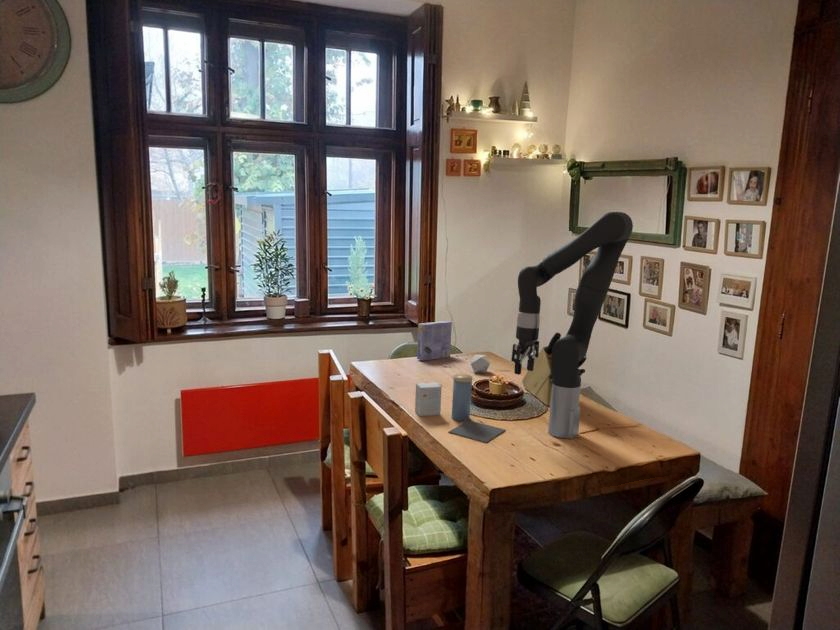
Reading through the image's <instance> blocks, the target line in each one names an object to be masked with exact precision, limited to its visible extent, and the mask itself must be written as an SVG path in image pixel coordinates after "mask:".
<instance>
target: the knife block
mask: <svg viewBox="0 0 840 630" xmlns="http://www.w3.org/2000/svg"><path fill="white" fill-rule="evenodd" d="M561 338H562V334H561V333H560V332H555V334H554V335H553V336H552V337H551V339H550V341H549V343H548V345H547V346H543V347H542V348H541V350H539V354H538V358H536V359H535V360H534V369H533V371H529V370H527V372H526V373H525V375H524V377H523V379H522V385H523V387H524V388H525V390H527V391H528V392H529V393H531V394H532V395H533V396H534V397H536V398H537V399H539V401H541V402H542V403H544V404H545V406H547V407H550V402H551V390H552V375H551V357H552V349H553V345H554V344H555V342H556V341H557V340H559V339H561ZM587 359H588V357H587V354H586V355H585V357H584V358H583V359H582V360H581V361H579V363H578V375H579V376H580V377H581V376H582V375H583V374H585V372H586V369H585V368H580V367H581V366H583V364H584V363H585V362H586V360H587Z"/></svg>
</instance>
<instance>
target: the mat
mask: <svg viewBox="0 0 840 630" xmlns="http://www.w3.org/2000/svg"><path fill="white" fill-rule="evenodd" d="M506 431H507V430H506V429H504V428H501V427H497V426H493V425H489V424H485V423H482V422H481V423H480V422H477V421H474V420H470V419H469V420H468V421H464V423H462V424H460V425H458V426H456V427H454V428H452V429H450V430H449V431H448V433H449V434H452V435H455V436H460V437H463V438H467V439H470V440H474V441H478V442H480V443H481V442H482V443H485V444H487V443H489V442H490V441H491V440H493V439H495V438H497V437H498V436H499V435H501V434H503V433H504V432H506Z"/></svg>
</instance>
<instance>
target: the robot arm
mask: <svg viewBox="0 0 840 630" xmlns="http://www.w3.org/2000/svg"><path fill="white" fill-rule="evenodd" d="M633 225H634V224H633V220H632V218H631V217H630V215H629V214H627V213H625V212H621V211H610V212H607V213H604V214H603V215H602V216H601V217H599V218H598V219H597V220H596V221H595V222H594V223H593V224H591V226H589V227H588V228H587V229H586V230H584V231H583V232H581V234H579V235H578V236H577V237H574V239H572V240H570V241H568V242H566V243H565V244H564V245H562V246H560V247H558V248H556V249H555V250H553V251H551V252H550V253H549V254H547V255H546V256H545V257H544V258H543V259H542V261H541V262H539V263H537V264H536V265H534V266H525V267H523V268H521V270H520V271H519V273H518V276H517V288H518V290H517V291H518V296H519V303H518V313H517V318H516V329H515V331H516V332H515V339H517V340H518V343H513V345H512V349H511V350H512V351H511V358H510V360H511V362H513V363H514V369H513V370H514V374H515V375H522V366H523V364H522V363H523V362H524V360H525V359H526V357H527V365H526V370H527V371H528V370H529V371H533V369H534V361H535V359H536V358H538V354H539V353H540V341H539V333H540V324H541V323H540V322H541V316H540V315H541V314H540V313H541V306H542V305H541V304H542V303H541V297H540V296H539V295H538V291H537V290H538V289H537V288H538V287H541V286H543V285H545V284H546V283H548V282H549V281H551V280H552V279H553V278H554V277H555V276H556V275H559V274H561V273H562V272H564V271H565V270H567V269H570V268H571V267H572V266H573V265H575V264H576V263H578V262H579V261H581V259H582V258H584V257H585V256H586V255H588V254H589V253H590V252H592V251H594V250H596V249H597V250H596V252H595V255H594V256H593V257H592V259H591V261H590V262H589V264H588V265H587V267H586V268H585V270H584V272H583V273H582V276H581V278H580V280H579V283H578V286H577V288H576V292H575V296H574V301H573V317H572V321H571V323H570V326H569V328H568V330H567V332H566V334H565V336H564V337H560V339H559V340H557V341H556V342H555V344H554V345H553V349H552V357H551V375H552V390H551V402H550V406H549V413H548V414H549V416H548V417H549V418H548V426H547V428H548V429H547V432H548V434H549V435H550V436H553V437H555V438H561V439H570V440H571V439H572V440H573V439H574V438H575V437H576V436H579V435H578V434H579V429H580V420H581V419H580V418H581V417H580V416H581V409H582V408H581V406H580V398H581V397H580V395H581V387H582V385H581V384H582V377H581V376H579V375H578V369H579V368H578V363H579V361H581V360H582V359H583V358H584V357H585V355H586V356H587V352H588V348H589V345H590V341H591V338H592V334H593V330H594V327H595V325H596V322H597V320H598V319H599V315H600V313H601V310H602V308H603V305H604V303H605V300H606V298H607V295H608V293H609V290H610V286H611V284H612V281H613V278H614V275H615V272H616V269H617V266H618V263H619V259H620V257H621V255H622V253H623V251H624V249H625V247H626V245H627V243H628V241H629V239H630V237H631V235H632V232H633V228H634V226H633Z"/></svg>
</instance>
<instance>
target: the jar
mask: <svg viewBox="0 0 840 630" xmlns="http://www.w3.org/2000/svg"><path fill="white" fill-rule="evenodd" d="M472 384H473V375H470V374H466V373H456V374H453V385H452V387H453V388H452V402H451V404H452V406H451V419H452V420H453V421H456V422H467V421H469V420H470V418H471V407H472V406H471V404H472V387H473V385H472Z"/></svg>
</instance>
